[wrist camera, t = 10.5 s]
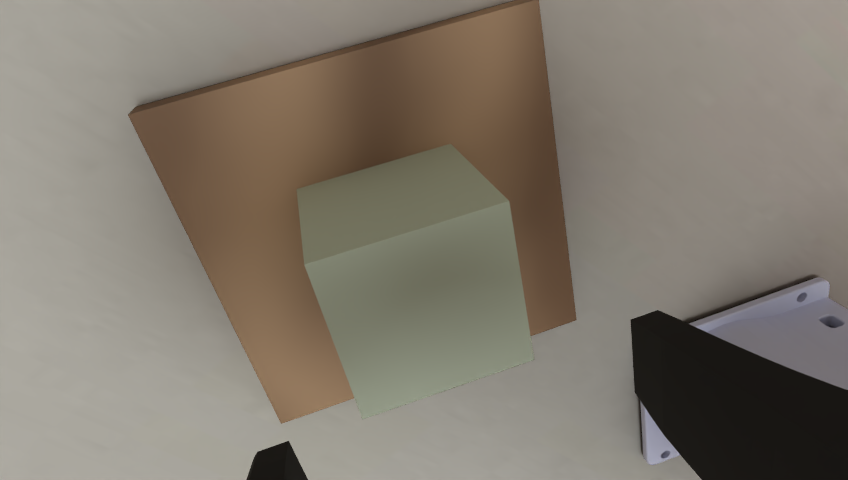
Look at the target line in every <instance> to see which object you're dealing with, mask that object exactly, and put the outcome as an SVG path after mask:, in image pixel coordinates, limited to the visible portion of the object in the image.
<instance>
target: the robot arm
mask: <svg viewBox="0 0 848 480" xmlns="http://www.w3.org/2000/svg"><path fill="white" fill-rule="evenodd" d="M829 289H830V283H829V282H828V281H827V280H825V279H823V278H820V277H818V278H814V279H811V280H808V281H806V282H803V283H800V284H797V285H794V286H792V287H789V288H786V289H783V290H781V291H778V292H775V293H772V294H770V295H767V296H764V297H761V298H758V299H756V300H753V301H750V302H747V303H745V304H742V305H739V306H736V307H733V308H731V309H728V310H725V311H722V312H720V313H717V314H714V315H711V316H708V317H706V318H703V319H700V320H697V321H695V322H692V323H689V324H688V323H686V322H683V321H681V320H679V319H677V318H675V317H672V316H670V315H668V314H665V313H663V312H661V311H658V310H657V311H654V312H651V313H648V314H646V315H643V316H640V317H637V318H634V319H631V333H632V350H633V367H634V384H635V393H636V395H637V396H638V398H639V399H640V403H641V422H642V440H643V457H644V459H645V460H646V462H647V463H648V464H650V465H655V464H658V463H661V462H663V461H666V460H669V459H671V458H674V457H676V456H679V455H681V456H682V457H683V458H684V459H685V461H686V462H687V463H688V464H689V465H690V466H691V468H692V469H693V470H694V471H695V472H696V473H697V475H698V476H699V477H700V478H701V479H702V480H848V309H847V308H845V307H843V306H842V305H840V304H838V303H837V302H835V301H833V300H832V299H830V298H828V296H829ZM247 480H308V479H307V477H306V475H305V473H304V471H303V469H302V467H301V465H300V463H299V461H298V459H297V457H296V455H295V453H294V451H293V449H292V447H291V445H290V443H289V441H287V442H284V443H281V444H279V445H276V446H273V447H270V448H267V449H264V450H262V451H259V452H257V454H256V455H255V457H254V459H253V462H252V465H251V468H250V471H249V474H248V477H247Z"/></svg>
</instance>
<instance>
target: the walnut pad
mask: <svg viewBox="0 0 848 480" xmlns="http://www.w3.org/2000/svg"><path fill="white" fill-rule="evenodd" d="M128 116H129V118H130V120H131V122H132V124H133V126H134V128H135V130H136V132H137V134H138V136H139V138H140V140H141V142H142V144H143V146H144V148H145V150H146V152H147V154H148V156H149V158H150V160H151V162H152V164H153V166H154V168H155V170H156V172H157V174H158V176H159V178H160V180H161V182H162V184H163V186H164V188H165V190H166V192H167V194H168V196H169V198H170V201H171V203H172V205H173V207H174V209H175V211H176V213H177V215H178V217H179V219H180V221H181V223H182V225H183V227H184V229H185V231H186V233H187V235H188V237H189V239H190V241H191V243H192V245H193V247H194V249H195V251H196V253H197V255H198V257H199V259H200V261H201V263H202V265H203V267H204V269H205V271H206V273H207V275H208V277H209V279H210V281H211V283H212V285H213V287H214V289H215V291H216V293H217V295H218V297H219V299H220V301H221V303H222V305H223V307H224V309H225V311H226V313H227V315H228V317H229V319H230V321H231V323H232V325H233V328H234V330H235V332H236V334H237V336H238V338H239V340H240V342H241V344H242V346H243V348H244V350H245V352H246V354H247V356H248V358H249V360H250V362H251V364H252V366H253V368H254V370H255V372H256V374H257V376H258V378H259V380H260V382H261V384H262V386H263V388H264V390H265V392H266V394H267V396H268V398H269V400H270V402H271V404H272V406H273V408H274V410H275V412H276V414H277V416H278V418H279V420H280V422H281V424H282V423H285V422H288V421H290V420H293V419H296V418H299V417H302V416H305V415H307V414H310V413H313V412H316V411H319V410H322V409H325V408H327V407H330V406H333V405H336V404H339V403H342V402H344V401H347V400H350V399H353V398H354V395H353V393H352V390H351V387H350V385H349V382H348V380H347V377H346V374H345V372H344V369H343V366H342V364H341V361H340V358H339V356H338V353H337V350H336V348H335V345H334V342H333V340H332V337H331V334H330V332H329V329H328V327H327V324H326V321H325V319H324V316H323V313H322V311H321V308H320V305H319V303H318V300H317V297H316V295H315V292H314V289H313V287H312V284H311V281H310V279H309V276H308V273H307V271H306V268H305V266H304V258H303V248H302V238H301V228H300V218H299V208H298V199H297V189H298V188H302V187H305V186H309V185H312V184H315V183H319V182H322V181H326V180H329V179H332V178H336V177H339V176H342V175H346V174H349V173H353V172H356V171H359V170H363V169H366V168H370V167H373V166H376V165H380V164H383V163H387V162H390V161H393V160H397V159H400V158H404V157H407V156H410V155H414V154H417V153H420V152H424V151H427V150H431V149H434V148H437V147H441V146H444V145H448V144H452V145H453V146H454V147H455V148H456V149H457V150H458V151H459V152H460V153H461V154H462V155H463V156H464V157H465V158H466V159H467V160H468V161H469V162H470V163H471V164H472V165H473V166H474V167H475V168H476V169H477V170H478V171H479V172H480V173H481V174H482V175H483V176H484V177H485V178H486V179H487V180H488V181H489V182H490V183H491V184H492V185H493V186H494V187H495V188H496V189H498V190H499V191H500V192H501V193H502V194H503V195H504V196H505V197H506V198H507V199H508V200H509V203H510V209H511V215H512V222H513V228H514V234H515V241H516V247H517V253H518V260H519V266H520V272H521V279H522V285H523V292H524V298H525V304H526V311H527V317H528V323H529V330H530V336H532V335H535V334H538V333H541V332H544V331H547V330H549V329H552V328H555V327H558V326H561V325H564V324H567V323H569V322H572V321H575V320H576V312H575V304H574V295H573V287H572V278H571V270H570V261H569V253H568V244H567V236H566V227H565V219H564V211H563V202H562V194H561V185H560V177H559V168H558V160H557V151H556V143H555V134H554V126H553V117H552V109H551V101H550V92H549V84H548V75H547V67H546V58H545V50H544V41H543V33H542V24H541V16H540V7H539V0H515V1H512V2H508V3H504V4H501V5H497V6H494V7H490V8H487V9H483V10H479V11H476V12H472V13H469V14H465V15H462V16H458V17H455V18H451V19H447V20H444V21H440V22H437V23H433V24H430V25H426V26H422V27H419V28H415V29H412V30H408V31H405V32H401V33H397V34H394V35H390V36H387V37H383V38H380V39H376V40H373V41H369V42H365V43H362V44H358V45H355V46H351V47H348V48H344V49H340V50H337V51H333V52H330V53H326V54H323V55H319V56H316V57H312V58H308V59H305V60H301V61H298V62H294V63H291V64H287V65H283V66H280V67H276V68H273V69H269V70H266V71H262V72H259V73H255V74H251V75H248V76H244V77H241V78H237V79H234V80H230V81H226V82H223V83H219V84H216V85H212V86H209V87H205V88H202V89H198V90H194V91H191V92H187V93H184V94H180V95H177V96H173V97H169V98H166V99H162V100H159V101H155V102H152V103H148V104H145V105H141V106H137V107H135V108H134V109H133V110H132V111H131V112H130V113H129V114H128Z"/></svg>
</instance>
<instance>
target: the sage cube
mask: <svg viewBox="0 0 848 480" xmlns="http://www.w3.org/2000/svg"><path fill="white" fill-rule="evenodd" d="M297 199H298V208H299V218H300V228H301V238H302V248H303V258H304V266H305V268H306V271H307V273H308V276H309V279H310V281H311V284H312V287H313V289H314V292H315V295H316V297H317V300H318V303H319V305H320V308H321V311H322V313H323V316H324V319H325V321H326V324H327V327H328V329H329V332H330V334H331V337H332V340H333V342H334V345H335V348H336V350H337V353H338V356H339V358H340V361H341V364H342V366H343V369H344V372H345V374H346V377H347V380H348V382H349V385H350V387H351V390H352V393H353V395H354V398H355V401H356V403H357V406H358V409H359V411H360V414H361V417H362V419H365V418H368V417H371V416H374V415H377V414H380V413H383V412H385V411H388V410H391V409H394V408H397V407H400V406H403V405H406V404H408V403H411V402H414V401H417V400H420V399H423V398H426V397H429V396H431V395H434V394H437V393H440V392H443V391H446V390H449V389H452V388H455V387H457V386H460V385H463V384H466V383H469V382H472V381H475V380H478V379H480V378H483V377H486V376H489V375H492V374H495V373H498V372H501V371H504V370H506V369H509V368H512V367H515V366H518V365H521V364H524V363H527V362H529V361H532V360H534V355H533V349H532V342H531V336H530V330H529V323H528V317H527V311H526V304H525V298H524V292H523V285H522V279H521V272H520V266H519V260H518V253H517V247H516V241H515V234H514V228H513V222H512V215H511V209H510V203H509V200H508V199H507V198H506V197H505V196H504V195H503V194H502V193H501V192H500V191H499V190H498V189H496V188H495V187H494V186H493V185H492V184H491V183H490V182H489V181H488V180H487V179H486V178H485V177H484V176H483V175H482V174H481V173H480V172H479V171H478V170H477V169H476V168H475V167H474V166H473V165H472V164H471V163H470V162H469V161H468V160H467V159H466V158H465V157H464V156H463V155H462V154H461V153H460V152H459V151H458V150H457V149H456V148H455V147H454V146H453V145H452V144H448V145H444V146H441V147H437V148H434V149H431V150H427V151H424V152H420V153H417V154H414V155H410V156H407V157H404V158H400V159H397V160H393V161H390V162H387V163H383V164H380V165H376V166H373V167H370V168H366V169H363V170H359V171H356V172H353V173H349V174H346V175H342V176H339V177H336V178H332V179H329V180H326V181H322V182H319V183H315V184H312V185H309V186H305V187H302V188H298V189H297Z"/></svg>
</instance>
